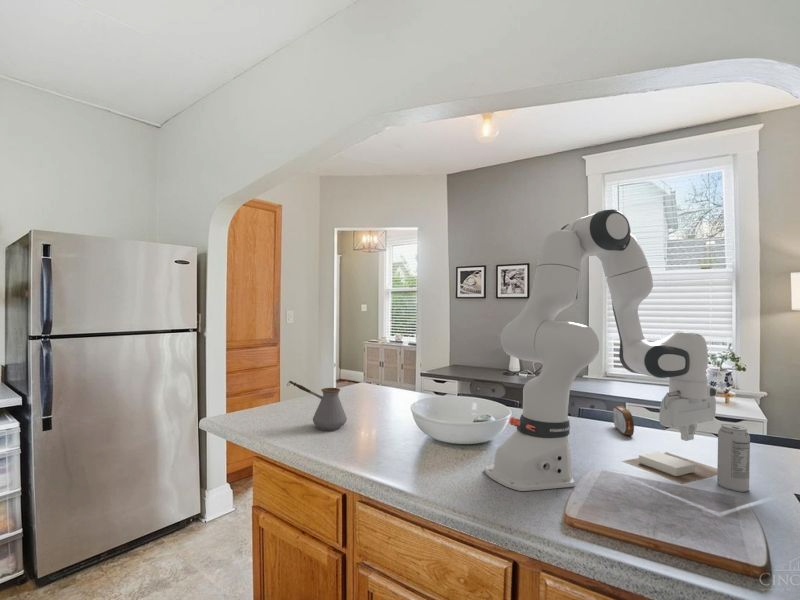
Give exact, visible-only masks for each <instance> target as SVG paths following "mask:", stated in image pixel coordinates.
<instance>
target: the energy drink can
mask: <svg viewBox="0 0 800 600" xmlns="http://www.w3.org/2000/svg"><path fill="white" fill-rule="evenodd" d="M747 430H748V428H746V427H745V426H741V425H735V424H731V423H730V424H727V423H722V424H721V427H720V428H719V429H718V431H717V466H716V467H717V475H716V479H717V480H716V481H717V484H718V485H719V486H720V487H722V488H724V489H726V490H729V491H734V492H739V493H746V492H748V491H749V490H750V467H751V466H750V462H751V461H750V460H751V458H750V457H751V436H750V434H749V432H748V431H747Z"/></svg>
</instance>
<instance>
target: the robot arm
mask: <svg viewBox="0 0 800 600" xmlns="http://www.w3.org/2000/svg"><path fill="white" fill-rule="evenodd" d="M594 256H596V257H597V258H598V259H599V260H600V262H601V266H602V269H603V273H604V277H605V280H606V284H607V286H608V290H609V294H610V299H611V306H612V311H613V316H614V319H615V320H614V321H615V325H616V329H617V332H618V333H617V334H618V336H619V352H618V353H619V354H618V357H619V361H620V363H621V366H622V367H623V368H624V369H625V370H626V371H628V372H630V373H633V374H640V375H644V376H648V377H651V378H652V377H653V378H655V379H665V378H666V379H667V378H668V391H667V392H666V394H665V395H664V396H663V398H662V399H661V401H660V405H659V406H660V407H659V416H658V417H659V419H658V420H659V423H660V425H661V426H664V427H666V428H671V429H673V428H674V429H675V428H678V430H679V432H680V440H682V441H685V442H687V441H692V440H694V439H695V433H696V430H697V428H698V424H701V423H708V422H713V421H714V419H715V418H716V413H717V399H716V397H717V396H718V389H717V388H716V387H713V386H711V385H709V383H708V376H707V369H708V366H709V365H708V364H709V359H708V358H709V357H708V356H709V354H708V352H709V351H708V346H707V341H706V339H705V337H704V336H702V335H701V334H699V333H695V332H689V331H684V330H676V331H673V332H672V333H670V335H668V336H666V337H664V338H662V339H659V340H655V341H653V342H651V341H648V340H647V339H646V337H645V336H644V334H643V329H642V326H641V320H640V316H639V312H638V311H639V308H640V307H639V306H640V305H641V303H642V302H643V301H644V300H645V299H647V298H648V296H649V295H650V294H651V292H652V290H653V286H654V283H653V282H654V281H653V276H652V272H651V268H650V266H649V263H648V259H647V257H646V255H645V253H644V251H643V249H642V246H641V245H640V243H639V241H638V239H637V238H636V237H635V235H633V234H632V233H631V226H630V222H629V220H628V218H627V217H626V216H625V215H624V214H623V213H622V212H621V211H620V210H617V209H613V208H612V209H611V208H610V209H603V210H599V211H597V212H595V213H592V214H589V215H586V216H582V217H580V218H578V219H576V220H574V221H572V222H570V223H568V224H566V225H564V226H563V227H562V228H560V229H556V230H553V231H551V232H549V233H548V234H546V236H545V237H544V240H543V242H542V243H541V247H540V250H539V254H538V257H537V261H536V266H535V272H534V279H533V282H532V288H531V291H530V292H531V293H530V295H529V298H528V300H527V302H526V304H525V305H524V307H523V309H522V310H521V311H520V313H519V314H517V316H516V317H515V318H514V319H513V320H511V321H509V322H508V323H507V324H506V325H505V326H504V327H503V330H502V332H501V334H500V344H501V347H502V349H503V351H504V353H506V355H508V356H511V357H513V358H516V359H517V360H521V361H528V362H534V363H539V364H540V363H541V364H542V367H541V371H540V373H539V375H537V376H535V377H532V378H530V379H529V380H528V381H526V383H525V384H524V385H523V389H522V394H523V395H522V413H521V415H520V417H519V418H516V417H514V416H512V417H510V418H509V425H511V426H513V427H515V428H516V430H515V431H514V432H513V433H512V434H511V435H509V437H508V438H507V439H505V440H504V442H503V443H501V444H500V445H499V446H498V447H497V448H496V452H495V454H494V463H491V464H489V465H486V466H485V467H484V473H485V474H486V476H488V477H489V478H490V479H492V480H494V481H495V482H497V483H498V484H500V485H502V486H505V487H506V488H509V489H512V490H516V491H519V492H528V491H540V490H551V489H560V488H572V487H575V485H576V483H575V479H574V477H575V476H574V473H573V468H572V467H573V466H572V456H571V448H570V444H569V443H570V442H569V435H570V434H571V433H570V430H571V426H570V425H571V423H570V419H569V402H570V400H569V399H570V393H571V388H572V385H573V383H574V380H575V379H576V377H577V376H578V374H579V373H580V372H581V371H582V370H583V369H584V368H586V367H587V366H589V365H590V364H591V363H593V362H594V361H595V359H596V358H597V356H598V354H599V350H600V341H599V338H598V335H597V334H596V332H595V330H594V329H593V328H592V327H591V326H588V325H584V324H582V323H577V322H573V321H558V320H557V321H556V320H555V319H556V318H557V316H558V315H560V313H561V312H562V311H564V310H566V309H568V308H569V307H571V306H572V305H573V304H574V303H575V301H576V299H577V295H578V287H579V282H580V281H579V280H580V273H581V267H582V259H583V258H589V257H594Z"/></svg>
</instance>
